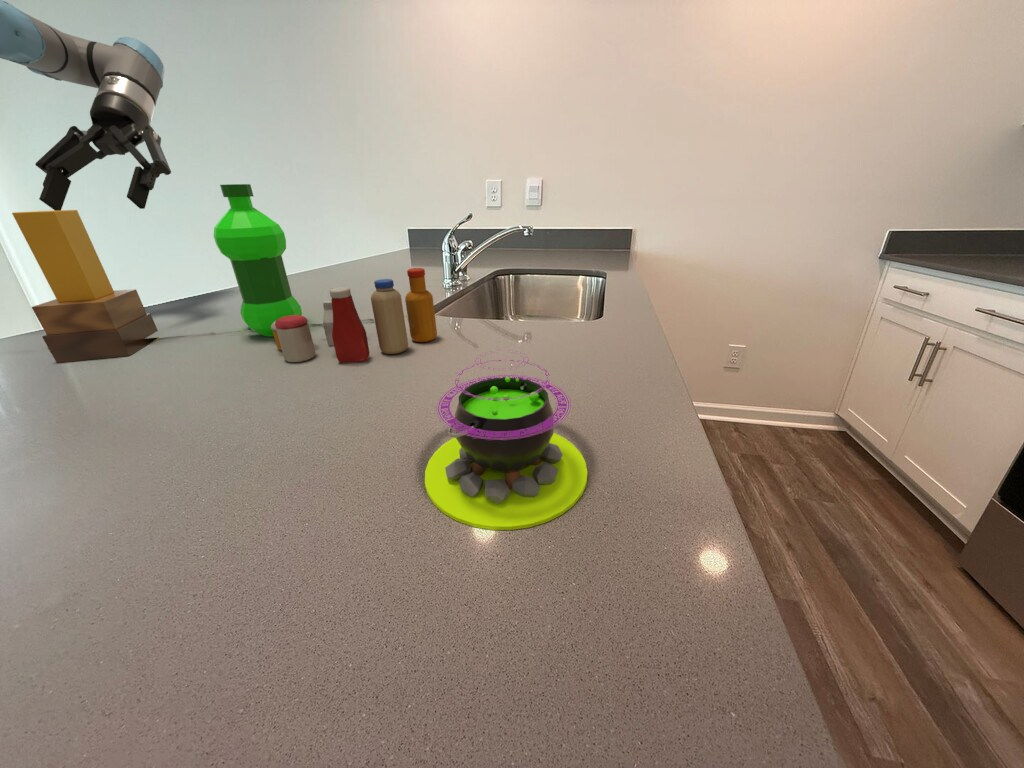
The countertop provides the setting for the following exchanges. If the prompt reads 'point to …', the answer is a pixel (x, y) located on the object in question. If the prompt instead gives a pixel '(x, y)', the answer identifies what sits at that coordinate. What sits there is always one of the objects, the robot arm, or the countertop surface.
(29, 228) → the bar
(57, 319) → the stacked wooden blocks
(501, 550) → the countertop surface
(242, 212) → the plastic bottle
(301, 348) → the toy food
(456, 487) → the toy cauldron
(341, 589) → the countertop surface
